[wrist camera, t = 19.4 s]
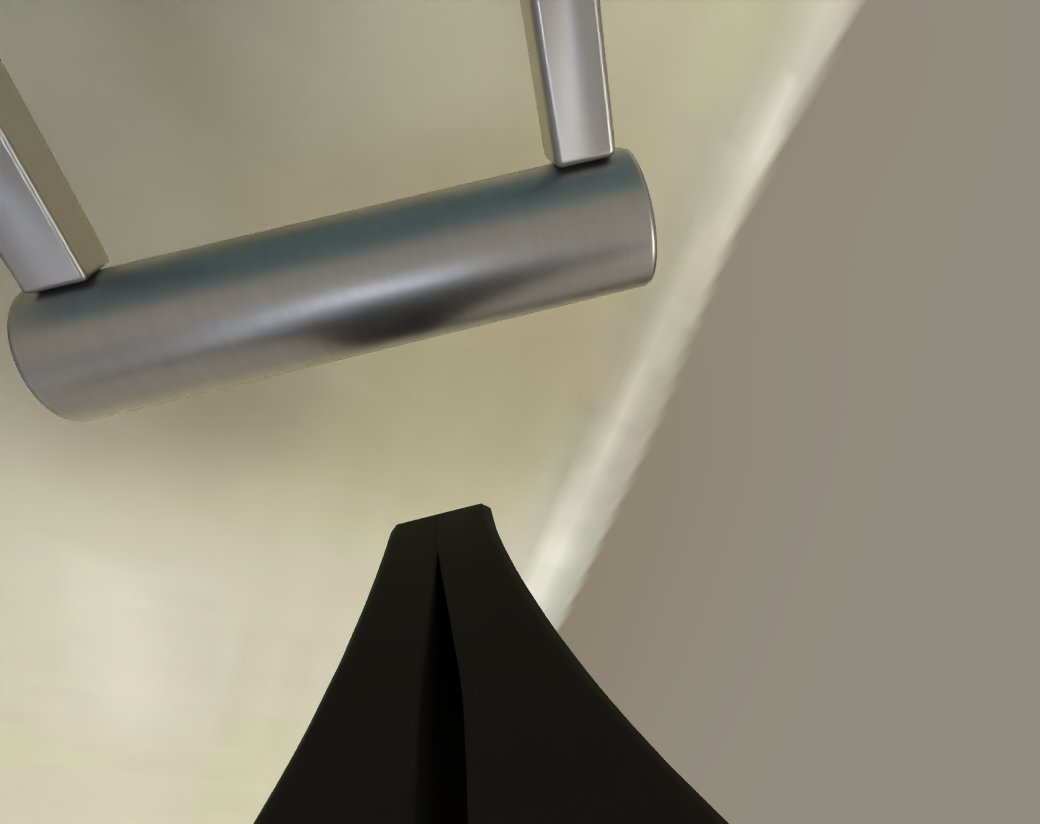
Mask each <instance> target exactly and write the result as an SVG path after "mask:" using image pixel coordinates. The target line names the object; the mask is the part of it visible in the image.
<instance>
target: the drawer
mask: <svg viewBox="0 0 1040 824" xmlns="http://www.w3.org/2000/svg"><path fill="white" fill-rule="evenodd" d="M520 4H521V10H522V16H523V22H524V29H525V35H526V41H527V47H528V54H529V60H530V66H531V72H532V78H533V85H534V91H535V97H536V103H537V110H538V116H539V122H540V128H541V135H542V141H543V147H544V153H545V155H546V157H547V159H548V160H550V161H551V162H552V164H548V165H544V166H539V167H535V168H531V169H527V170H522V171H518V172H514V173H510V174H505V175H501V176H497V177H492V178H488V179H484V180H480V181H475V182H471V183H467V184H463V185H458V186H454V187H450V188H446V189H441V190H437V191H433V192H429V193H424V194H420V195H416V196H411V197H407V198H403V199H399V200H394V201H390V202H386V203H382V204H377V205H373V206H369V207H365V208H360V209H356V210H352V211H348V212H343V213H339V214H335V215H331V216H326V217H322V218H318V219H313V220H309V221H305V222H301V223H296V224H292V225H288V226H284V227H279V228H275V229H271V230H267V231H262V232H258V233H254V234H250V235H245V236H241V237H237V238H232V239H228V240H224V241H220V242H215V243H211V244H207V245H203V246H198V247H194V248H190V249H186V250H181V251H177V252H173V253H169V254H164V255H160V256H156V257H152V258H147V259H143V260H139V261H134V262H130V263H126V264H122V265H117V266H113V267H109V268H105V269H100V268H102V267H103V266H104V265H105V264H106V263H108V262H109V259H108V256H107V254H106V252H105V250H104V248H103V247H102V245H101V243H100V241H99V239H98V237H97V236H96V234H95V232H94V230H93V228H92V226H91V224H90V223H89V221H88V219H87V217H86V215H85V213H84V212H83V210H82V208H81V206H80V204H79V202H78V201H77V199H76V197H75V195H74V193H73V191H72V189H71V188H70V186H69V184H68V182H67V180H66V178H65V177H64V175H63V173H62V171H61V169H60V167H59V166H58V164H57V162H56V160H55V158H54V156H53V154H52V153H51V151H50V149H49V147H48V145H47V143H46V142H45V140H44V138H43V136H42V134H41V132H40V131H39V129H38V127H37V125H36V123H35V121H34V119H33V118H32V116H31V114H30V112H29V110H28V108H27V107H26V105H25V103H24V101H23V99H22V97H21V95H20V94H19V92H18V90H17V88H16V86H15V84H14V83H13V81H12V79H11V77H10V75H9V73H8V72H7V70H6V68H5V66H4V64H3V62H2V60H1V59H0V256H1V258H2V259H3V261H4V263H5V264H6V266H7V267H8V269H9V270H10V272H11V274H12V275H13V277H14V278H15V280H16V281H17V283H18V285H19V286H20V288H21V289H22V291H21V292H20V293H19V294H18V295H17V296H16V297H15V299H14V300H13V302H12V304H11V306H10V309H9V313H8V321H7V331H8V339H9V344H10V349H11V352H12V355H13V359H14V361H15V364H16V366H17V368H18V371H19V372H20V374H21V376H22V378H23V380H24V382H25V383H26V385H27V386H28V388H29V389H30V390H31V392H32V393H33V394H34V396H35V397H36V398H37V399H38V400H39V401H40V402H41V403H42V404H43V405H44V406H45V407H46V408H47V409H49V410H50V411H51V412H53V413H54V414H56V415H58V416H60V417H62V418H64V419H67V420H72V421H79V422H85V421H90V420H94V419H99V418H103V417H107V416H111V415H115V414H119V413H123V412H127V411H131V410H136V409H140V408H144V407H148V406H152V405H156V404H160V403H164V402H168V401H173V400H177V399H181V398H185V397H189V396H193V395H197V394H201V393H205V392H210V391H214V390H218V389H222V388H226V387H230V386H234V385H238V384H242V383H247V382H251V381H255V380H259V379H263V378H267V377H271V376H275V375H279V374H283V373H288V372H292V371H296V370H300V369H304V368H308V367H312V366H316V365H320V364H325V363H329V362H333V361H337V360H341V359H345V358H349V357H353V356H357V355H362V354H366V353H370V352H374V351H378V350H382V349H386V348H390V347H394V346H399V345H403V344H407V343H411V342H415V341H419V340H423V339H427V338H431V337H436V336H440V335H444V334H448V333H452V332H456V331H460V330H464V329H468V328H473V327H477V326H481V325H485V324H489V323H493V322H497V321H501V320H505V319H509V318H514V317H518V316H522V315H526V314H530V313H534V312H538V311H542V310H546V309H551V308H555V307H559V306H563V305H567V304H571V303H575V302H579V301H583V300H588V299H592V298H596V297H600V296H604V295H608V294H612V293H616V292H620V291H625V290H629V289H633V288H637V287H641V286H644V285H646V284H647V283H649V282H650V281H651V280H652V278H653V275H654V272H655V267H656V258H657V236H656V225H655V218H654V212H653V207H652V202H651V198H650V194H649V190H648V187H647V184H646V181H645V178H644V175H643V173H642V171H641V168H640V166H639V164H638V162H637V160H636V159H635V157H634V156H633V154H632V153H631V152H630V151H629V150H627V149H624V148H616V149H615V140H614V131H613V121H612V111H611V102H610V92H609V83H608V73H607V64H606V54H605V45H604V35H603V25H602V16H601V6H600V0H520ZM99 269H100V270H99Z"/></svg>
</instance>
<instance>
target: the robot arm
mask: <svg viewBox="0 0 1040 824" xmlns="http://www.w3.org/2000/svg"><path fill="white" fill-rule="evenodd" d="M254 824H728V822H727V821H726V820H725V819H723V818H722V816H721V815H720V814H718V813H717V812H716V811H715V810H714V809H713V808H712V807H711V806H710V805H709V804H708V803H707V802H706V801H705V800H704V799H703V798H702V797H701V796H700V795H699V794H698V793H697V792H696V791H695V790H694V789H693V788H692V787H691V786H690V785H689V784H688V783H687V782H686V781H685V780H684V779H683V778H682V777H681V776H680V775H679V774H678V773H677V772H676V771H675V770H674V769H673V768H672V767H671V766H670V765H669V764H668V763H667V762H666V761H665V760H664V759H663V758H662V757H661V756H660V754H659V753H658V752H657V751H656V750H655V749H654V748H653V747H652V746H651V745H650V744H649V743H648V741H647V740H646V739H645V738H644V737H643V736H642V735H641V734H640V733H639V732H638V731H637V730H636V728H635V727H634V726H633V725H632V724H631V723H630V722H629V721H628V720H627V718H626V717H625V716H624V715H623V714H622V713H621V712H620V711H619V709H618V708H617V707H616V706H615V705H614V704H613V702H612V701H611V700H610V699H609V698H608V696H607V695H606V694H605V693H604V692H603V691H602V689H601V688H600V687H599V686H598V684H597V683H596V682H595V681H594V680H593V678H592V677H591V676H590V675H589V674H588V672H587V671H586V670H585V669H584V667H583V666H582V665H581V663H580V662H579V661H578V659H577V658H576V657H575V655H574V654H573V653H572V652H571V650H570V649H569V647H568V646H567V645H566V643H565V642H564V641H563V640H562V638H561V637H560V636H559V634H558V633H557V631H556V630H555V629H554V627H553V626H552V624H551V623H550V621H549V620H548V619H547V617H546V616H545V614H544V613H543V611H542V610H541V608H540V607H539V605H538V604H537V602H536V600H535V599H534V597H533V596H532V594H531V593H530V591H529V590H528V588H527V587H526V585H525V583H524V582H523V580H522V579H521V577H520V575H519V573H518V572H517V570H516V568H515V567H514V565H513V563H512V561H511V559H510V557H509V555H508V553H507V551H506V550H505V548H504V545H503V543H502V541H501V539H500V537H499V534H498V532H497V530H496V526H495V523H494V519H493V515H492V512H491V508H489V507H487V506H485V505H483V504H477V505H473V506H469V507H465V508H461V509H457V510H453V511H449V512H445V513H441V514H437V515H433V516H429V517H425V518H421V519H417V520H413V521H409V522H406V523H402V524H398V525H396V526H395V528H394V529H393V531H392V532H391V535H390V538H389V541H388V544H387V547H386V550H385V553H384V556H383V559H382V562H381V564H380V567H379V570H378V573H377V575H376V578H375V581H374V583H373V586H372V588H371V591H370V593H369V596H368V599H367V601H366V604H365V606H364V609H363V611H362V613H361V616H360V618H359V620H358V623H357V625H356V627H355V630H354V632H353V634H352V637H351V639H350V641H349V644H348V646H347V648H346V651H345V653H344V655H343V657H342V659H341V662H340V664H339V666H338V668H337V670H336V672H335V674H334V676H333V678H332V680H331V682H330V684H329V686H328V688H327V690H326V692H325V694H324V697H323V699H322V701H321V703H320V705H319V707H318V709H317V711H316V713H315V715H314V717H313V719H312V721H311V723H310V725H309V727H308V729H307V731H306V732H305V734H304V736H303V738H302V740H301V742H300V744H299V745H298V747H297V749H296V751H295V753H294V755H293V757H292V758H291V760H290V762H289V764H288V765H287V767H286V769H285V771H284V773H283V774H282V776H281V778H280V780H279V781H278V783H277V785H276V786H275V788H274V790H273V792H272V793H271V795H270V797H269V798H268V800H267V802H266V803H265V805H264V807H263V809H262V810H261V812H260V814H259V815H258V817H257V819H256V820H255V822H254Z"/></svg>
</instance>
